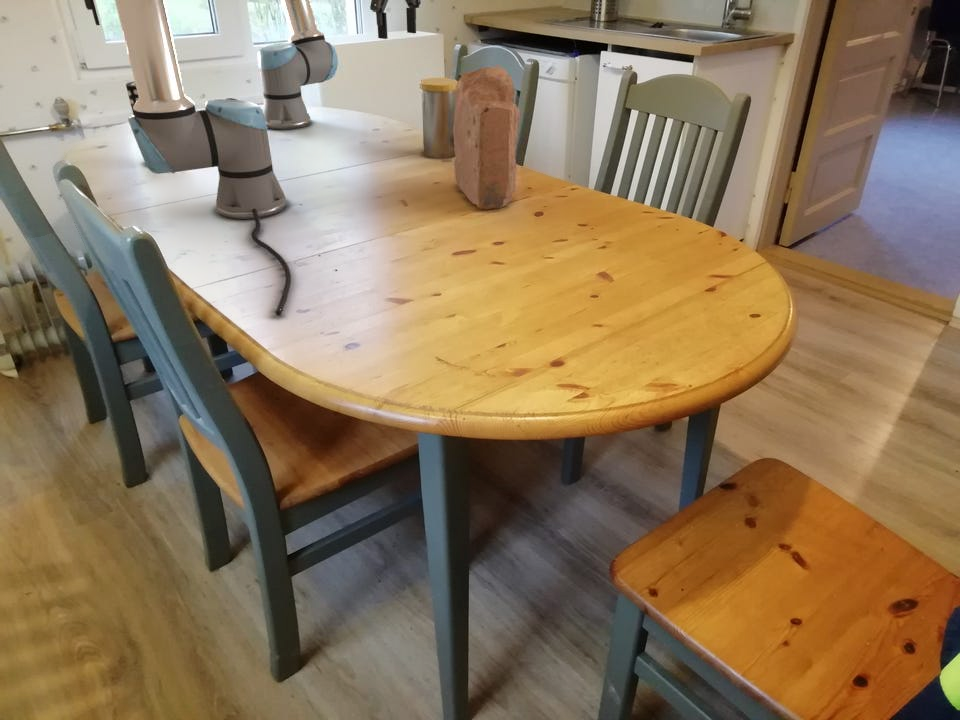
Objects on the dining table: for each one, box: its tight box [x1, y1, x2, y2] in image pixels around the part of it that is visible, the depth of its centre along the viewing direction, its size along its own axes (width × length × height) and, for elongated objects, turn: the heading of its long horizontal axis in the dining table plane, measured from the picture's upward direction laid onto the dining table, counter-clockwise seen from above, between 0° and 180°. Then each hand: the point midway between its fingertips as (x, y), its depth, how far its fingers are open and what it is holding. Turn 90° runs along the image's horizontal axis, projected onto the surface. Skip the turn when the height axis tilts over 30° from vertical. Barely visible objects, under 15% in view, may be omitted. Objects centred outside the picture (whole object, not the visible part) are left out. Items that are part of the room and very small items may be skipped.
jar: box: [421, 89, 456, 159], centre depth 191 cm, size 9×9×19 cm
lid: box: [419, 77, 458, 92], centre depth 186 cm, size 10×10×2 cm
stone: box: [453, 66, 520, 210], centre depth 159 cm, size 22×11×28 cm, turn 18°
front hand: (128, 23), depth 171 cm, fingers open, 13 cm apart
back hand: (397, 35), depth 197 cm, fingers open, 13 cm apart
